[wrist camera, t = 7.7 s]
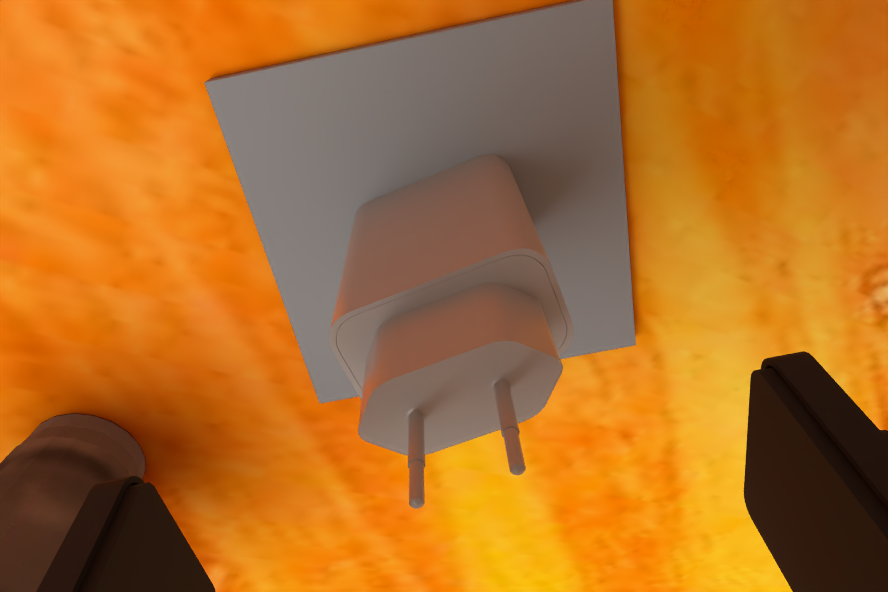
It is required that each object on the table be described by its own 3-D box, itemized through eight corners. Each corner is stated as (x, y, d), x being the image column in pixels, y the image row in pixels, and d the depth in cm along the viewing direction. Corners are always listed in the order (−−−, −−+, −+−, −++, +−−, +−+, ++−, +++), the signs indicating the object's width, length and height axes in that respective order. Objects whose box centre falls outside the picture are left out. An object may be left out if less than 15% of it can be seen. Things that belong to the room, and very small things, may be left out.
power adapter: (533, 231, 22) (644, 500, 11) (385, 289, 23) (361, 590, 12) (502, 146, 21) (595, 364, 10) (345, 211, 21) (278, 476, 11)
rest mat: (209, 78, 20) (204, 82, 19) (606, -7, 19) (612, -6, 19) (321, 393, 26) (319, 403, 25) (631, 336, 25) (635, 344, 24)
